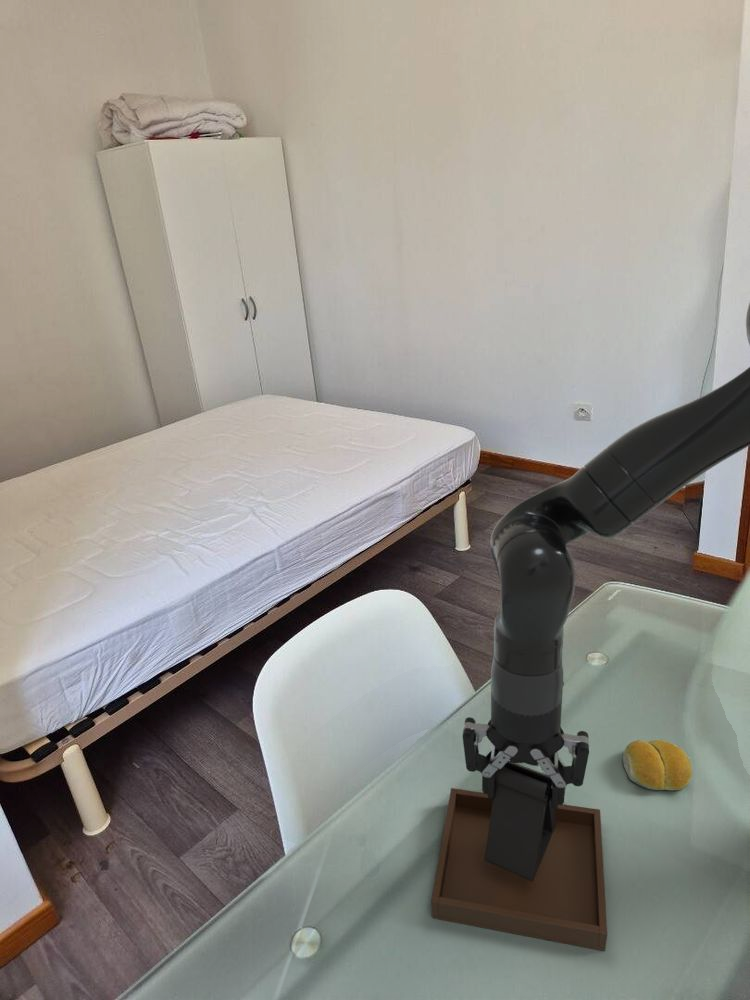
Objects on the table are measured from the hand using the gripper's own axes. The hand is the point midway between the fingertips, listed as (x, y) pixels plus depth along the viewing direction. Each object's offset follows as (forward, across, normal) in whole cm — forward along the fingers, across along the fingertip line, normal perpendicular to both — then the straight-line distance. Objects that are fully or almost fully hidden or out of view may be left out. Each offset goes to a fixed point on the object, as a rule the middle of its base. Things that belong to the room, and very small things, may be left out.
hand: (522, 797), depth 81 cm
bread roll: (+13, +18, +19) cm, 29 cm away
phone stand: (+8, 0, 0) cm, 8 cm away
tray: (+13, 0, 0) cm, 13 cm away
